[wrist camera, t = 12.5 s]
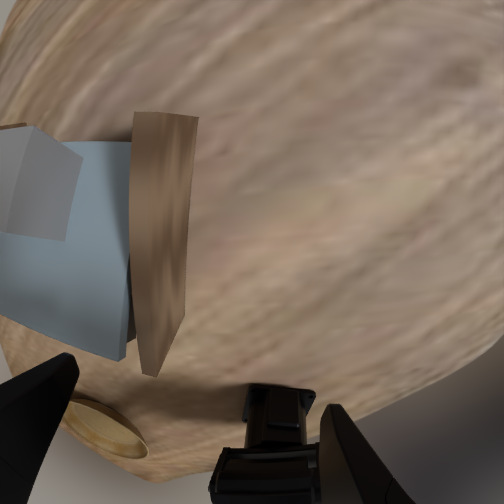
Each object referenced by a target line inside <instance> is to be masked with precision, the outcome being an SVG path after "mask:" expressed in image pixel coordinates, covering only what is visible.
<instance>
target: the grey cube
mask: <svg viewBox="0 0 504 504" xmlns="http://www.w3.org/2000/svg"><path fill="white" fill-rule="evenodd" d="M83 159H84V158H83V157H81V156H80V155H78V154H77V153H75V152H74V151H72V150H71V149H69V148H68V147H66V146H64V145H63V144H61V143H60V142H58V141H57V140H55V139H54V138H52V137H51V136H49V135H48V134H46V133H45V132H43V131H42V130H40V129H39V128H37V127H36V126H25V127H18V128H11V129H5V130H0V231H1V232H5V233H11V234H17V235H24V236H30V237H37V238H43V239H50V240H57V241H63V242H65V238H66V232H67V226H68V221H69V216H70V211H71V206H72V202H73V197H74V193H75V189H76V185H77V181H78V177H79V173H80V170H81V166H82V163H83Z"/></svg>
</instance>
